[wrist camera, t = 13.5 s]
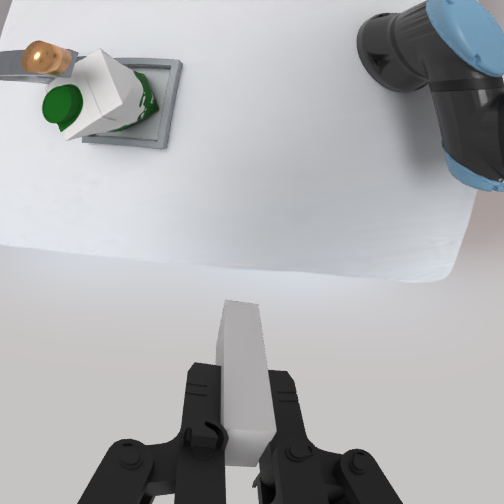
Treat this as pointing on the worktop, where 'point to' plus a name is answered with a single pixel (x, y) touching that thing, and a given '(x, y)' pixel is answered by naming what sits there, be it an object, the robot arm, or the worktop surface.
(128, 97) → the soya milk
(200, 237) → the worktop surface
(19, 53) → the crank handle
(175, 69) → the socket frame
